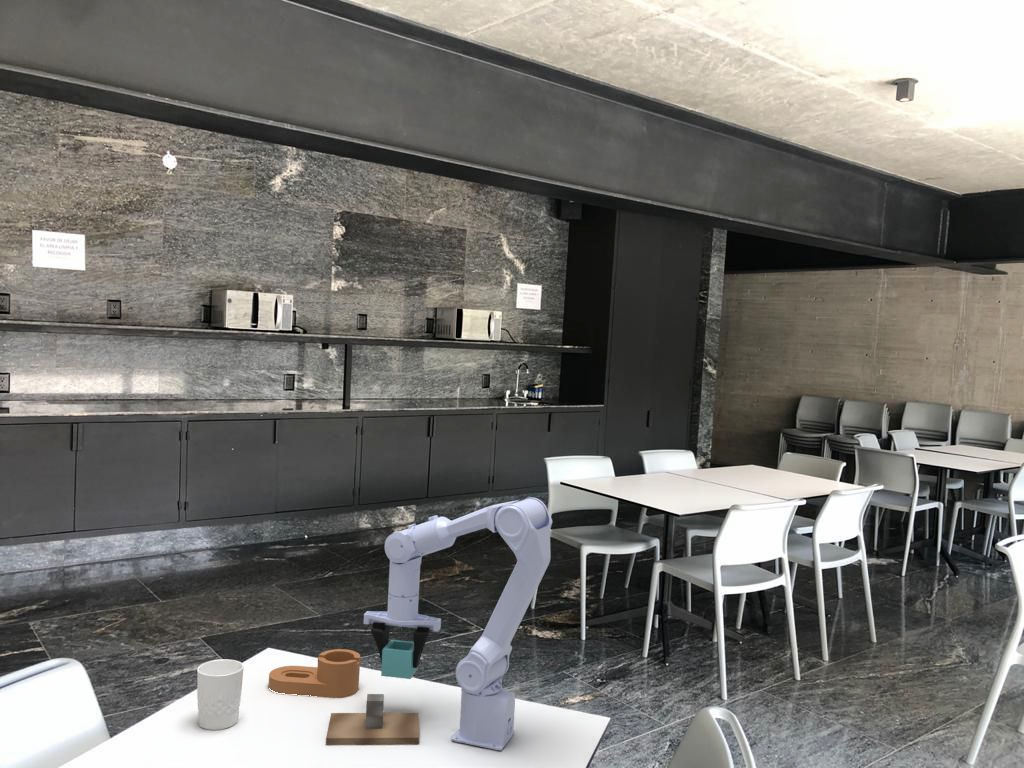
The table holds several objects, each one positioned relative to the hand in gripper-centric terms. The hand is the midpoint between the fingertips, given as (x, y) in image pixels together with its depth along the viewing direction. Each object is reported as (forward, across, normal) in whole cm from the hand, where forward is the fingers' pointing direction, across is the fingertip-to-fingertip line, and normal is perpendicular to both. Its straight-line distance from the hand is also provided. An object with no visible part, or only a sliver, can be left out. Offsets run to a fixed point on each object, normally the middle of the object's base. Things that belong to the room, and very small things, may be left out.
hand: (400, 664), depth 155 cm
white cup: (+10, +30, +12) cm, 34 cm away
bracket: (+10, +20, -7) cm, 23 cm away
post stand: (+9, +2, +8) cm, 13 cm away
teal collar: (+2, 0, 0) cm, 2 cm away
